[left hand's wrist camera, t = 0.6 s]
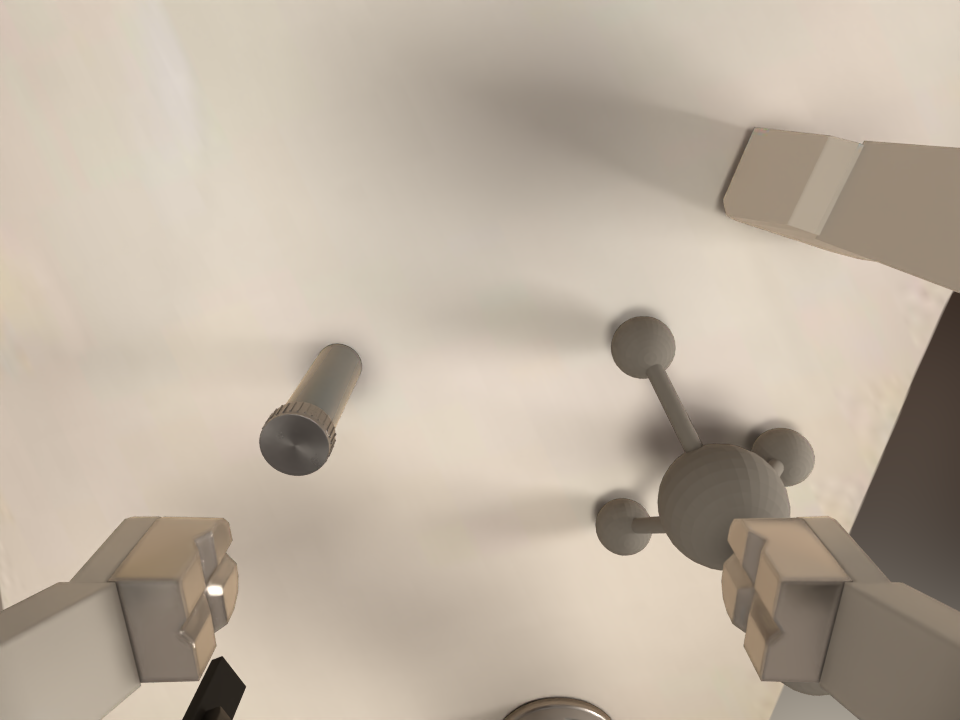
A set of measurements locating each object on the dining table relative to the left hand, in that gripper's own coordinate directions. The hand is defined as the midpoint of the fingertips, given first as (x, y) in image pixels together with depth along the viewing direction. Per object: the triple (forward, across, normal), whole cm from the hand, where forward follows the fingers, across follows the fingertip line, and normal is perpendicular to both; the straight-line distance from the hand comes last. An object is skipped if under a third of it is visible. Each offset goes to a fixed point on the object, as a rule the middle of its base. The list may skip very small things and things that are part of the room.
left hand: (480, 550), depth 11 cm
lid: (+32, +13, +16) cm, 38 cm away
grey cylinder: (+48, +13, +16) cm, 52 cm away
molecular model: (+48, -18, +24) cm, 57 cm away
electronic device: (+48, -27, 0) cm, 55 cm away
